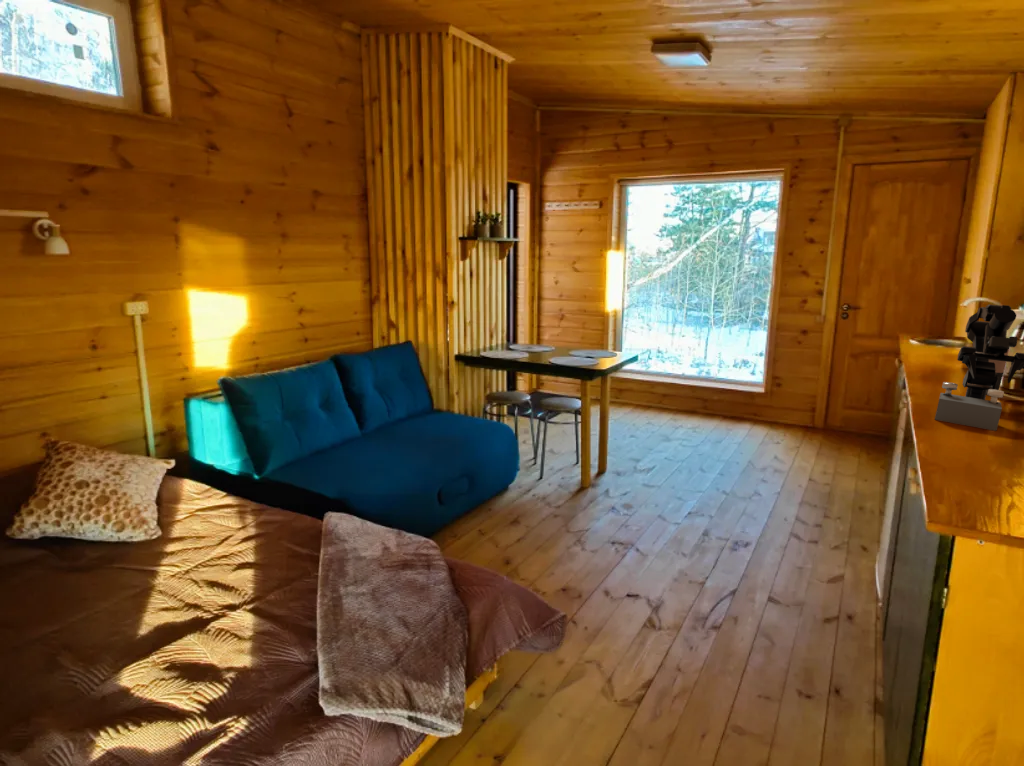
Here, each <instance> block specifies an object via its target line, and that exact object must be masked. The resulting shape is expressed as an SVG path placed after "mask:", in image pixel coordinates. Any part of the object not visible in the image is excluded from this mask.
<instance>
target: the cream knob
mask: <svg viewBox="0 0 1024 766" xmlns="http://www.w3.org/2000/svg"><path fill="white" fill-rule="evenodd" d="M1004 394H1005V391H1003V390H1000V389H999V390H995V389H988V393H987V394H986V396H988V397H989V396H990V400H989V401H990V403H993V404H996V403H997V402H998V398H1003V397H1004Z"/></svg>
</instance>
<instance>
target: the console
mask: <svg viewBox="0 0 1024 766" xmlns="http://www.w3.org/2000/svg"><path fill="white" fill-rule="evenodd" d="M990 401H991V400H987V399H985V400H983V399H977V398H970V397H965V395H964V396H962V395H958V394H952V393H951V396H945V393H944V392H940V394H939V397H938V403H937V407H936V411H935V416H934V420H935V421H940V422H945V423H951V424H956V425H962V426H968V427H972V428H973V427H974V428H979V429H984V430H988V431H995V432H996V431H997V430H998V425H999V422H1000V418H1001V414H1002V410H1003V408H1002V402H1000V401H997V403H996V404H993V403H990Z"/></svg>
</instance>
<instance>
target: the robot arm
mask: <svg viewBox="0 0 1024 766" xmlns="http://www.w3.org/2000/svg"><path fill="white" fill-rule="evenodd" d="M1016 318H1017V313H1016V311H1015V310H1013V309H1012V307H1011V305H1008V304H1007V305H1006V304H1002V305H1000V304H999V305H998V304H987V305H985V306H982V307H978V310H977V311H976V313H974V314H973V315H970V316H969V317H968V319H967V323H966V326H965V330H964V332H965V333H966V337H967V339H968V340H969V341H970V342H972V346H964V345H963V346H962V347H961V348H960V349H959V351H958V354H957V359H956V360H957V361H958V362H961V363H962V364H964V365H965V366H966V367H967V370H966V373H965V375H964V377H963V381H962V386H963V387H964V388H966V391H965V395H964V397H970V398H977V399H983V400H986V397H987V394H986V393H987V390H988V389H995V386H996V384H997V382H998V379H999V378H998V376H997V374H996V369H995V363H994V362H989V360H997V361H1005V362H1006V363H1010V367H1009V371H1008V377H1007V384H1010V383H1011V381H1012V379H1013V378H1014V376H1015V374H1016V372H1017V371H1021V370H1024V352H1015V354H1014V356H1013V355H1008V356H1007V355H1005V353H1007V351H1008V348H1009V347H1010V348H1015V347H1017V345H1018V336H1011V335H1010V336H1009V337H1007V332H1008V331H1009V329H1010V328H1011V327H1012V325H1013V323H1014V322H1015V320H1016ZM980 319H982V320H980ZM983 320H984V321H983ZM1010 348H1009V349H1010Z"/></svg>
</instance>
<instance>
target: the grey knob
mask: <svg viewBox="0 0 1024 766" xmlns="http://www.w3.org/2000/svg"><path fill="white" fill-rule="evenodd" d="M958 386H959V385H958V384H957V383H955V382H949V381H943V382H942V385H941V388H942V389H945V396H951V394H952V391H957V389H958Z"/></svg>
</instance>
